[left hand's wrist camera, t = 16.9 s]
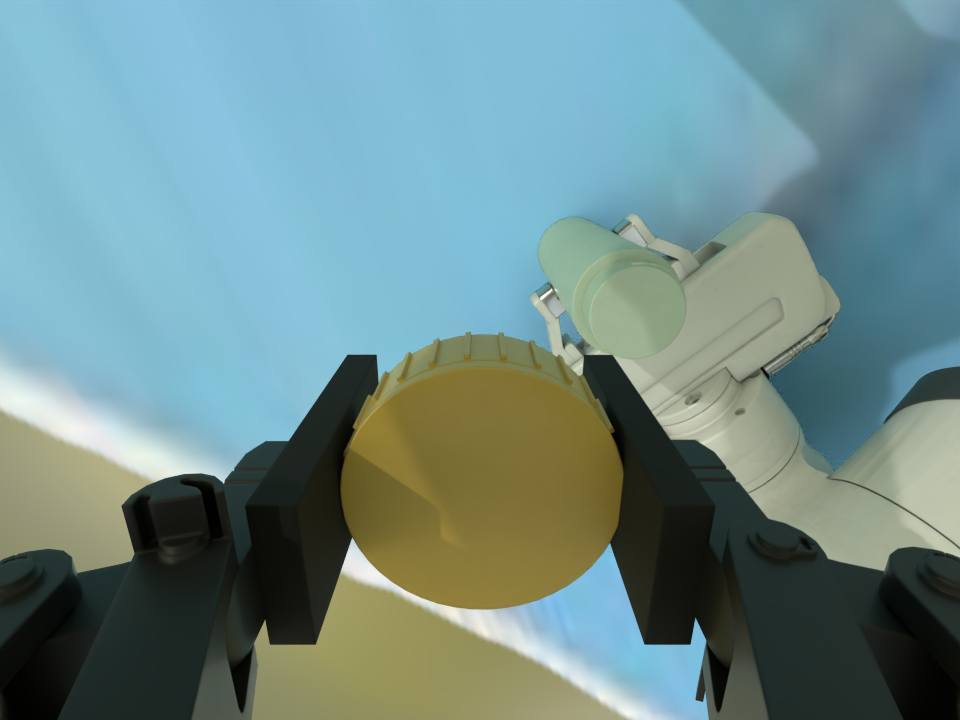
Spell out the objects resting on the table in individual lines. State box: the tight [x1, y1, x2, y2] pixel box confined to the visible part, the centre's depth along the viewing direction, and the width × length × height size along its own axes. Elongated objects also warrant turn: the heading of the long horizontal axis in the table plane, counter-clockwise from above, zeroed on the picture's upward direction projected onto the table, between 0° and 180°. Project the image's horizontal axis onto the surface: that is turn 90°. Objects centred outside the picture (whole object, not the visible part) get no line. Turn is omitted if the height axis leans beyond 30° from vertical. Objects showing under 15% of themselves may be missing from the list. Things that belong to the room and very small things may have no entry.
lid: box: [340, 332, 624, 609], centre depth 11 cm, size 6×6×2 cm
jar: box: [538, 217, 687, 359], centre depth 30 cm, size 5×5×17 cm
